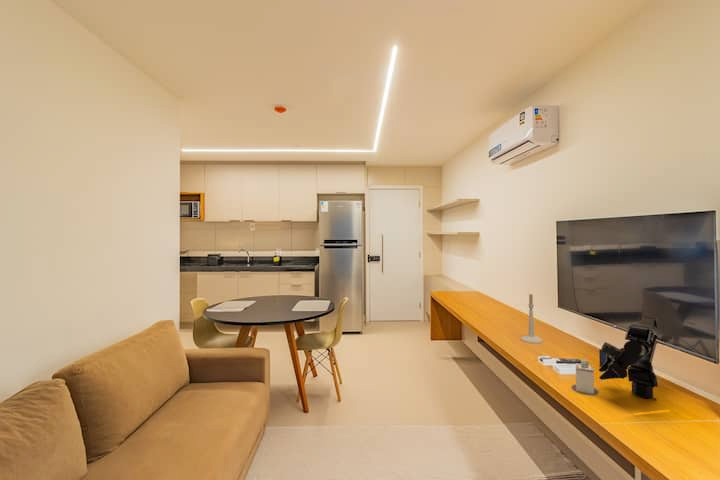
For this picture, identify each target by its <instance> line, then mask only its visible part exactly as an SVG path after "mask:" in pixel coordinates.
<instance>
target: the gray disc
mask: <svg viewBox="0 0 720 480" xmlns="http://www.w3.org/2000/svg"><path fill="white" fill-rule="evenodd" d="M570 388H571V389H572V390H573V391H575V392H576V393H579V394H582V395H585V396H586V395H587V396H596V395H598V394H599V393H600V392H599V390H598V389H597V388H595V387H594V394H590V393H585V392H580V391H576V384H573V385H571V387H570Z"/></svg>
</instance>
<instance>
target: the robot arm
mask: <svg viewBox="0 0 720 480" xmlns="http://www.w3.org/2000/svg"><path fill="white" fill-rule="evenodd" d="M657 319H658V318H656V317H653V316H642V317H641V320H640V321H639V322H638V323H631V324H630V325H629V326H628V327H627V330H626V333H625V337H624V340H626V342H625V343H624V344H623V347H621V348H618V347H616V346H615V345H612V344H611V343H608V342H607V341H604V343H603V344H602V346H601V347H600V349H602V351H603V352H605V353H608V355H607V360H606V362H605V363H604V364H603V365H602V366H601V367H600V368H598V371H599V372H600V373H602V374H601V375H600V376H599V377H598V379H599V380H602V381H603V380H612V379H613V380H615V379H625V378H627V377H628V382H632V383H631V392H632V394H633V395H635V396H636V397H638V398H641V399H645V400H654V401H657V398H656V397H654V388H658V385H659V383H658V377H657V375H656V373H655V372H654V367H653V364H652V363H653V359H654V354H655V350H656V348H657V344H658V343H657V342H656V339H657V336H656V335H654V333H653V331H652V330H653V328H654V327H656V328H657Z"/></svg>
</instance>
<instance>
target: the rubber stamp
mask: <svg viewBox="0 0 720 480" xmlns="http://www.w3.org/2000/svg"><path fill="white" fill-rule="evenodd" d="M594 373H595V369H594V365H590V364H589V359H587V358H580V363H579V362H578V363H577V362H576V363H575V385H576V391H580V392H585V393H590V394H594V388H595V374H594ZM576 391H575V392H576Z"/></svg>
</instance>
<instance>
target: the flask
mask: <svg viewBox="0 0 720 480" xmlns="http://www.w3.org/2000/svg"><path fill="white" fill-rule="evenodd" d="M598 350H599V353H598V355H599V367H600V368H601V366H602V365H603V364H604V363H605V362H606V360H607V355H608V353H605V352H603V351H602V349H601V348H600V349H598Z"/></svg>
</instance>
